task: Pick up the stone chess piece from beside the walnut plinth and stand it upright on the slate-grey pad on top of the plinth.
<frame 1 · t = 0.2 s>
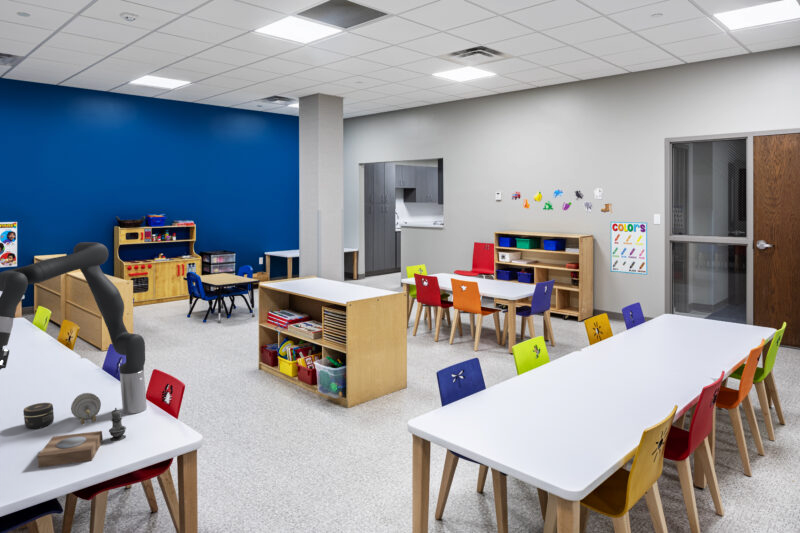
walnut plinth: (72, 453, 193), on the table
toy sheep: (86, 420, 223), on the table
jar: (39, 425, 219), on the table
stone chess piece: (118, 438, 205), on the table
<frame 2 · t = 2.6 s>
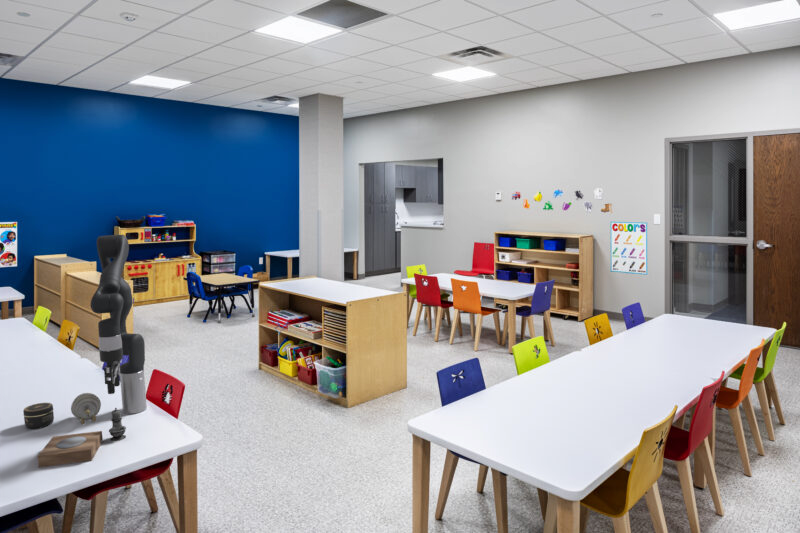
hand: (114, 389, 203), 19 cm above the table, tool pointing down, fingers open, 8 cm apart
nothing on the table moved.
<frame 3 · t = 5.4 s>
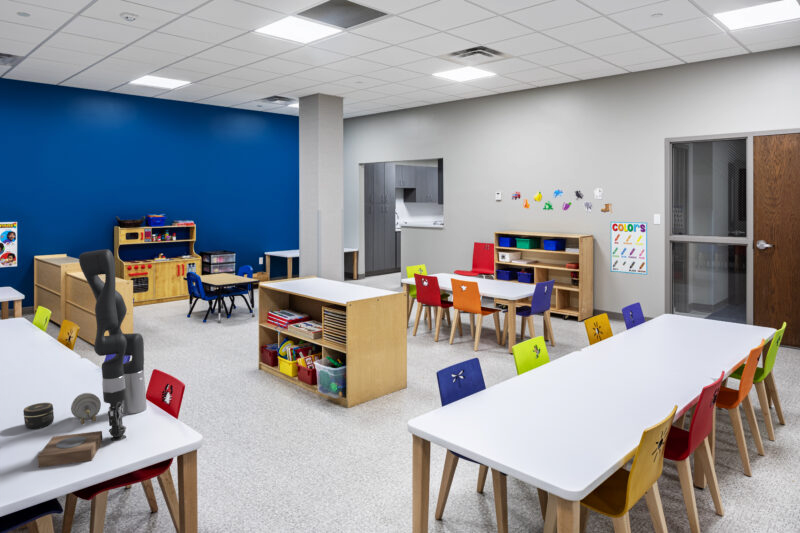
hand: (117, 431, 205), 3 cm above the table, tool pointing down, fingers closed on stone chess piece, 6 cm apart
stone chess piece: (118, 438, 205), on the table, touching gripper
everything else where it was.
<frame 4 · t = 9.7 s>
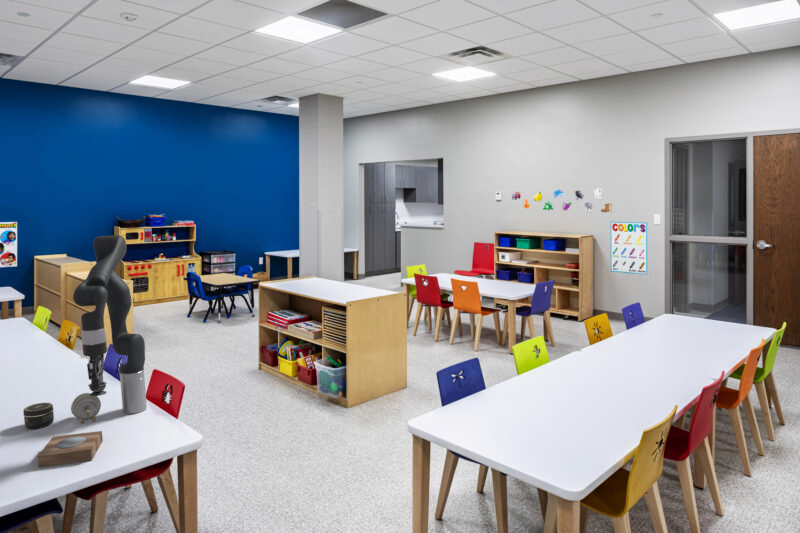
hand: (97, 386, 198), 22 cm above the table, tool pointing down, fingers closed on stone chess piece, 6 cm apart
stone chess piece: (98, 394, 198), point 19 cm above the table, touching gripper
everything else where it was.
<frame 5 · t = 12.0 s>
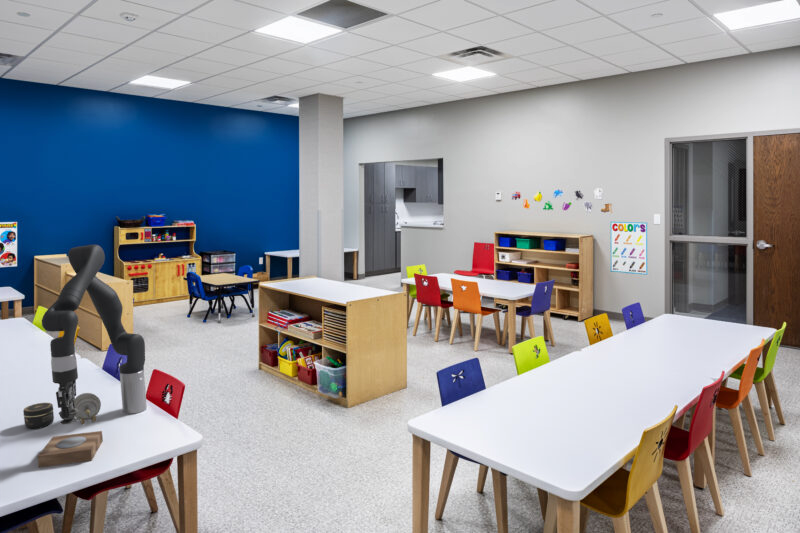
hand: (68, 413, 191), 15 cm above the table, tool pointing down, fingers closed on stone chess piece, 6 cm apart
stone chess piece: (69, 421, 192), point 12 cm above the table, touching gripper
everything else where it was.
when the fingers open (8 cm above the table, at t = 14.0 s): stone chess piece drops 1 cm, resting on walnut plinth.
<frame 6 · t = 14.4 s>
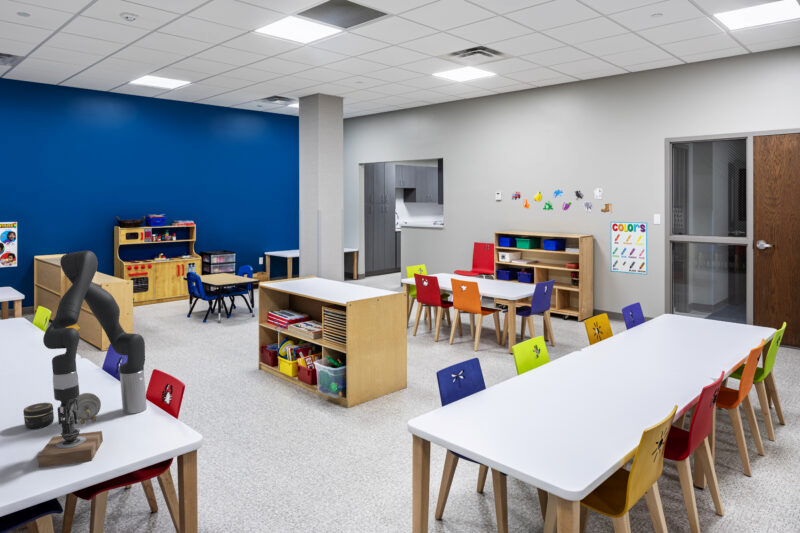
hand: (70, 429, 192), 9 cm above the table, tool pointing down, fingers open, 8 cm apart
stone chess piece: (71, 442, 193), point 4 cm above the table, touching walnut plinth
everything else where it was.
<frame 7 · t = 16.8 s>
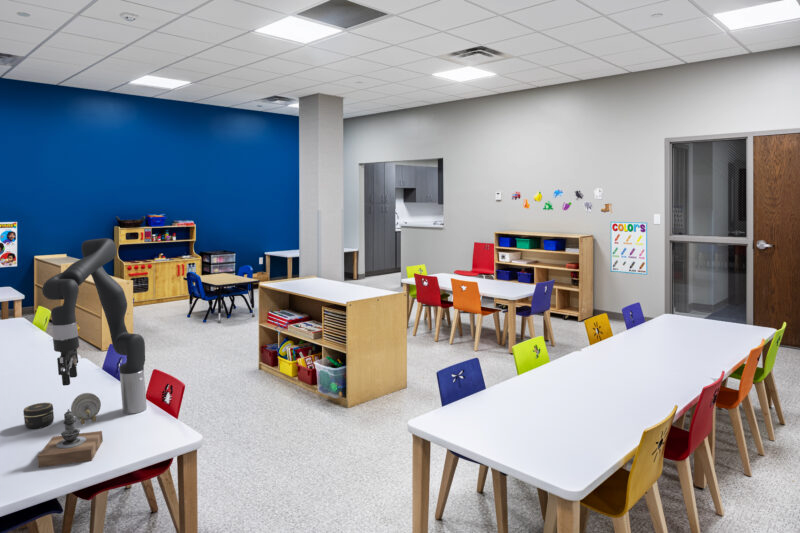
hand: (70, 381, 191), 26 cm above the table, tool pointing down, fingers open, 8 cm apart
nothing on the table moved.
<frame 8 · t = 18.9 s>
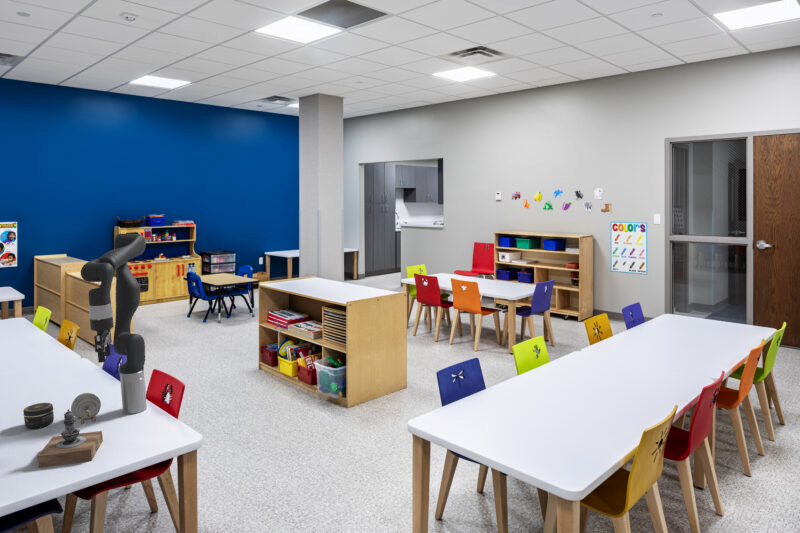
hand: (104, 358, 204), 30 cm above the table, tool pointing down, fingers open, 8 cm apart
nothing on the table moved.
at the end: stone chess piece inside the target area on the walnut plinth (0.1 cm from its centre), point 4.1 cm above the walnut plinth's base; stone chess piece tilted 0°; the gripper is holding nothing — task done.
